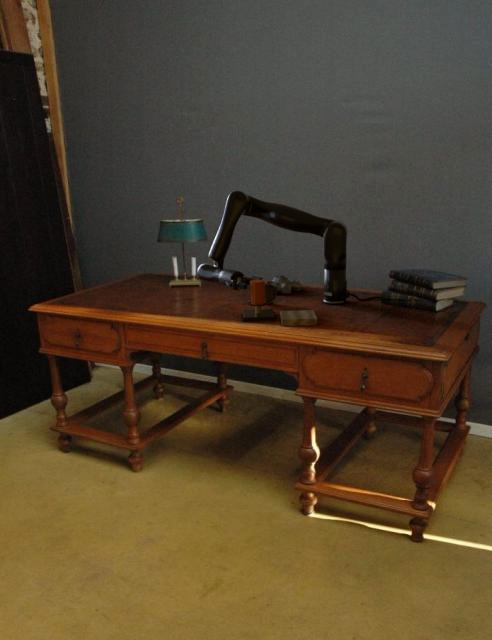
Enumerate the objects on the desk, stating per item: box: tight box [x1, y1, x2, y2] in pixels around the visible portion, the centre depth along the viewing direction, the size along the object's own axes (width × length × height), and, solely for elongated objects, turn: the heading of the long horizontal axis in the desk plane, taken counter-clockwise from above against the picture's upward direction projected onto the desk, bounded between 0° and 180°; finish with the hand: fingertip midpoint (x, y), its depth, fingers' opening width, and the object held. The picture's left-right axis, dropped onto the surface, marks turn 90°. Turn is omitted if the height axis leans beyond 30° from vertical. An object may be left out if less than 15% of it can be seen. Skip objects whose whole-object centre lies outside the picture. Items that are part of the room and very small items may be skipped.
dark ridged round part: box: [265, 284, 277, 306], centre depth 277 cm, size 8×7×8 cm
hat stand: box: [242, 306, 276, 322], centre depth 256 cm, size 12×12×14 cm
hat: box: [247, 279, 269, 307], centre depth 255 cm, size 8×8×9 cm
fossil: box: [265, 274, 303, 295], centre depth 301 cm, size 18×11×15 cm
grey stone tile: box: [279, 309, 318, 327], centre depth 251 cm, size 13×13×2 cm
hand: (255, 285), depth 255 cm, fingers open, 8 cm apart
